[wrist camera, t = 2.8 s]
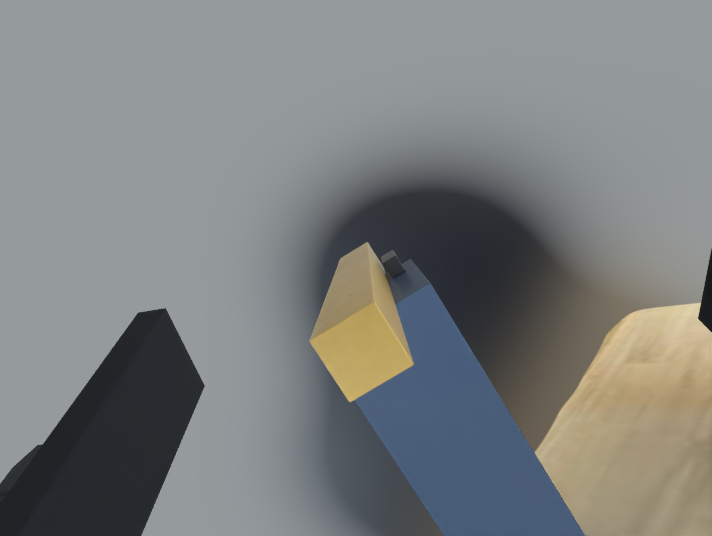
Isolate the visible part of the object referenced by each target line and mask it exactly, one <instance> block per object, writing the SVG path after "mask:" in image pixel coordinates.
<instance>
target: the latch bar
mask: <svg viewBox="0 0 712 536" xmlns="http://www.w3.org/2000/svg"><path fill="white" fill-rule="evenodd" d="M310 343H311V345H312V346H313V348H314V349H315V351H316V352H317V354H318V355H319V357H320V358H321V360H322V361H323V363H324V364H325V366H326V367H327V369H328V370H329V372H330V373H331V375H332V377H333V378H334V380H335V381H336V382H337V384H338V386H339V387H340V389H341V390H342V392H343V393H344V395H345V396H346V398H347V399H348V401H349V402H352V401H353V400H355V399H357V398H359V397H360V396H362V395H364V394H365V393H367V392H369V391H371V390H372V389H374V388H376V387H377V386H379V385H381V384H382V383H384V382H386V381H388V380H389V379H391V378H393V377H394V376H396V375H398V374H399V373H401V372H403V371H404V370H406V369H408V368H410V367H411V366H413V365H414V363H413V359H412V356H411V353H410V350H409V347H408V343H407V340H406V337H405V334H404V331H403V327H402V324H401V321H400V318H399V315H398V311H397V308H396V305H395V302H394V299H393V296H392V292H391V289H390V286H389V283H388V280H387V276H386V273H385V270H384V268H383V266H382V265H381V263H380V261H379V260H378V258H377V257H376V255H375V253H374V252H373V250H372V248H371V247H370V245H369V244H368V242H366V243H365V244H363V245H362V246H360V247H358V248H357V249H355V250H354V251H352V252H350V253H349V254H347V255H346V256H344V257H342V258H341V259H340V261H339V264H338V267H337V269H336V272H335V275H334V277H333V280H332V283H331V285H330V288H329V291H328V293H327V296H326V298H325V301H324V304H323V307H322V309H321V312H320V314H319V317H318V320H317V322H316V325H315V328H314V331H313V333H312V336H311V338H310Z"/></svg>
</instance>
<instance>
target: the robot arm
mask: <svg viewBox="0 0 712 536" xmlns="http://www.w3.org/2000/svg"><path fill="white" fill-rule="evenodd" d="M698 319H699V320H700V321H701V322H702V323H703V324H704V325H705V326H706V327H707V328H708V329H709V330H710V331H711V332H712V250H711V255H710V260H709V265H708V271H707V276H706V281H705V286H704V291H703V297H702V302H701V307H700V312H699V317H698ZM203 388H204V384H203V382H202V380H201V378H200V376H199V374H198V372H197V370H196V368H195V366H194V364H193V362H192V360H191V358H190V356H189V354H188V352H187V350H186V348H185V346H184V344H183V342H182V340H181V338H180V336H179V334H178V332H177V330H176V328H175V326H174V324H173V322H172V320H171V318H170V316H169V314H168V312H167V310H166V309H158V310H152V311H146V312H140V313H138V314H137V315H136V316H135V318H134V319H133V321H132V322H131V324H130V325H129V326H128V328H127V329H126V330H125V332H124V333H123V334H122V336H121V337H120V339H119V340H118V341H117V343H116V344H115V346H114V347H113V348H112V350H111V351H110V353H109V354H108V355H107V357H106V358H105V359H104V361H103V362H102V364H101V365H100V366H99V368H98V369H97V370H96V372H95V373H94V375H93V376H92V377H91V379H90V380H89V382H88V383H87V384H86V386H85V387H84V389H83V390H82V391H81V393H80V394H79V395H78V397H77V398H76V399H75V401H74V402H73V404H72V405H71V407H70V408H69V409H68V411H67V412H66V413H65V415H64V416H63V417H62V419H61V420H60V422H59V423H58V424H57V426H56V427H55V429H54V430H53V431H52V433H51V434H50V435H49V437H48V438H47V440H46V441H45V442H44V444H43V445H37V446H36V447H35V448H34V449H33V450H32V451H31V452H29V453H28V454H27V455H26V456H25V457H24V458H23V459H22V460H21V461H20V462H18V463H17V464H16V465H15V466H14V467H13V468H12V469H11V471H10V472H9V473H8V474H7V476H6V477H5V478H4V480H3V481H2V482H1V484H0V536H141V535H142V532H143V530H144V528H145V525H146V523H147V521H148V518H149V516H150V514H151V511H152V509H153V507H154V504H155V502H156V499H157V497H158V495H159V492H160V490H161V488H162V485H163V483H164V481H165V478H166V476H167V473H168V471H169V469H170V466H171V464H172V462H173V459H174V457H175V455H176V452H177V450H178V448H179V445H180V443H181V440H182V438H183V435H184V433H185V431H186V428H187V426H188V424H189V422H190V419H191V417H192V414H193V412H194V410H195V407H196V405H197V403H198V400H199V398H200V395H201V393H202V391H203Z"/></svg>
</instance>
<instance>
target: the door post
mask: <svg viewBox="0 0 712 536" xmlns="http://www.w3.org/2000/svg"><path fill="white" fill-rule="evenodd" d="M381 258H382V262H383V264H384V266H385V267H386V269H387V271H388V273H387V274H386V276H387V280H388V283H389V286H390V289H391V292H392V296H393V299H394V302H395V305H396V308H397V311H398V315H399V318H400V321H401V324H402V327H403V331H404V334H405V337H406V340H407V343H408V347H409V350H410V353H411V356H412V359H413V363H414V365H413V366H411V367H410V368H408V369H406V370H404V371H403V372H401V373H399V374H398V375H396V376H394V377H393V378H391V379H389V380H388V381H386V382H384V383H382V384H381V385H379V386H377V387H376V388H374V389H372V390H371V391H369V392H367V393H365V394H364V395H362V396H360V397H359V398H357V399H355V401H356V403H357V404H358V406H359V407H360V409H361V410H362V412H363V413H364V415H365V416H366V418H367V419H368V421H369V422H370V424H371V426H372V427H373V429H374V430H375V431H376V433H377V435H378V436H379V438H380V439H381V441H382V442H383V444H384V445H385V447H386V448H387V450H388V451H389V453H390V454H391V456H392V458H393V459H394V461H395V462H396V463H397V465H398V467H399V468H400V470H401V471H402V473H403V474H404V476H405V477H406V479H407V480H408V482H409V483H410V485H411V486H412V488H413V490H414V491H415V493H416V494H417V496H418V497H419V499H420V500H421V502H422V503H423V505H424V506H425V507H426V509H427V511H428V512H429V514H430V515H431V517H432V518H433V520H434V521H435V523H436V525H437V526H438V528H439V529H440V531H441V532H442V534H443V535H444V536H585V535H584V533H583V532H582V530H581V528H580V527H579V525H578V523H577V522H576V520H575V518H574V517H573V515H572V514H571V512H570V510H569V509H568V507H567V505H566V504H565V502H564V501H563V499H562V497H561V496H560V494H559V492H558V491H557V489H556V487H555V486H554V484H553V483H552V481H551V479H550V478H549V476H548V474H547V473H546V471H545V470H544V468H543V466H542V465H541V463H540V461H539V460H538V458H537V457H536V455H535V453H534V452H533V450H532V448H531V447H530V445H529V443H528V442H527V440H526V439H525V437H524V435H523V434H522V432H521V430H520V429H519V427H518V426H517V424H516V422H515V421H514V419H513V418H512V416H511V414H510V412H509V411H508V409H507V408H506V406H505V405H504V403H503V401H502V399H501V398H500V396H499V395H498V393H497V391H496V390H495V388H494V387H493V385H492V383H491V382H490V380H489V378H488V377H487V375H486V373H485V372H484V370H483V368H482V367H481V365H480V364H479V362H478V361H477V359H476V357H475V355H474V354H473V352H472V351H471V349H470V348H469V346H468V344H467V342H466V341H465V339H464V338H463V336H462V334H461V333H460V331H459V329H458V328H457V326H456V324H455V323H454V321H453V320H452V318H451V317H450V315H449V313H448V312H447V310H446V308H445V307H444V305H443V303H442V302H441V300H440V298H439V297H438V295H437V293H436V292H435V290H434V289H433V287H432V285H431V284H430V282H429V281H428V280H427V279H426V277H425V276H424V275H423V274H422V273H421V271H420V270H419V269H418V268H417V266H416V265H415V264H414V263H413V261H412V260H408V261H407V262H405V263H403V264H401V263H400V261H399V259H398V258H397V256H396V254H395V253H394V251H393V250H392V251H390V252H388V253H387V254H385V255H384V256H382V257H381Z"/></svg>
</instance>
